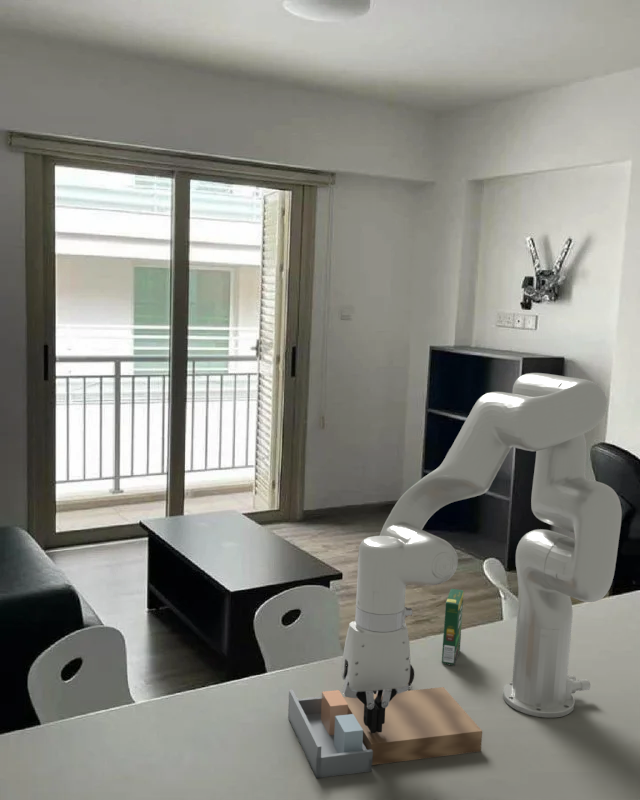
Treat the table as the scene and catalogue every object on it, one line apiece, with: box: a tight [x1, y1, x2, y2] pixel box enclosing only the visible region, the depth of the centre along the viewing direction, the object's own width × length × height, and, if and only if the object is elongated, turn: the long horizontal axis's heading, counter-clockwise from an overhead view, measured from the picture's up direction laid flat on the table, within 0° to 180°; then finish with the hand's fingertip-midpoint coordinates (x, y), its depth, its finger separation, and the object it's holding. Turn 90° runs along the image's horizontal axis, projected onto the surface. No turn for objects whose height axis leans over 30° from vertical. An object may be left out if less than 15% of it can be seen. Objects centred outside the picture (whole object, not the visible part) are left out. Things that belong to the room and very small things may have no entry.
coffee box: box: [441, 588, 465, 666], centre depth 165 cm, size 8×3×13 cm, turn 163°
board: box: [343, 686, 483, 766], centre depth 136 cm, size 19×15×4 cm
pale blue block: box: [334, 714, 363, 753], centre depth 129 cm, size 5×5×3 cm
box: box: [287, 689, 373, 779], centre depth 132 cm, size 9×18×5 cm, turn 16°
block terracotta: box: [321, 689, 348, 735], centre depth 136 cm, size 5×5×3 cm
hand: (373, 728), depth 129 cm, fingers closed
